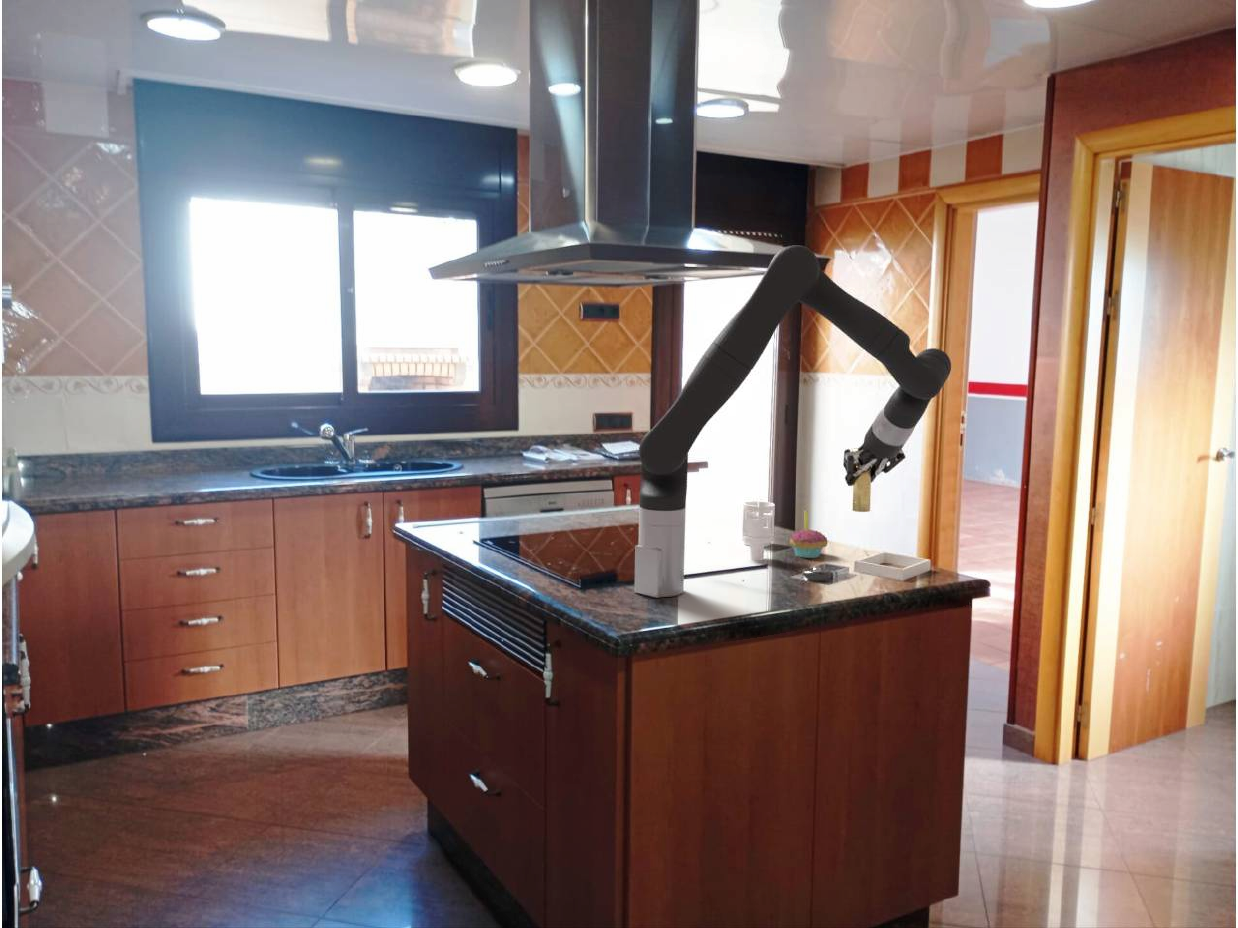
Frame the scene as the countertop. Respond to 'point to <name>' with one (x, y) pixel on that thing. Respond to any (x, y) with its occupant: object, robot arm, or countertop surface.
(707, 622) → the countertop surface
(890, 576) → the tray
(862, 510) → the gold mushroom peg
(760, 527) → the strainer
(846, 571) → the tensioner plate
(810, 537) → the cupcake
